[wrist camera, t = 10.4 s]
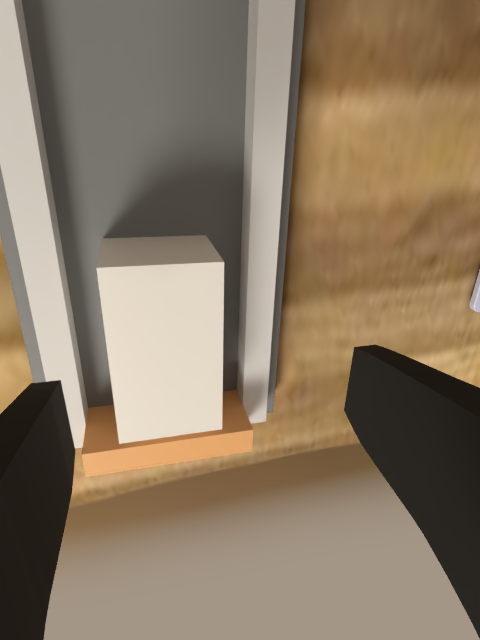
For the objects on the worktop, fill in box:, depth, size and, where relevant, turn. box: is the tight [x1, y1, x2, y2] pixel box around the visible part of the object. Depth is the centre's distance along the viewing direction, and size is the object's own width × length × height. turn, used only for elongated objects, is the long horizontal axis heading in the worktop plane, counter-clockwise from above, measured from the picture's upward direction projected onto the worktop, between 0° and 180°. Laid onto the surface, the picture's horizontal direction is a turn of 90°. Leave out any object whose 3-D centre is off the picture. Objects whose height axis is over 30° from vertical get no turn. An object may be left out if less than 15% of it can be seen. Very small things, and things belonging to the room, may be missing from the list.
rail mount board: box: [0, 0, 306, 477], centre depth 15 cm, size 11×19×4 cm, turn 178°
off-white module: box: [96, 235, 224, 444], centre depth 16 cm, size 4×7×4 cm, turn 178°
